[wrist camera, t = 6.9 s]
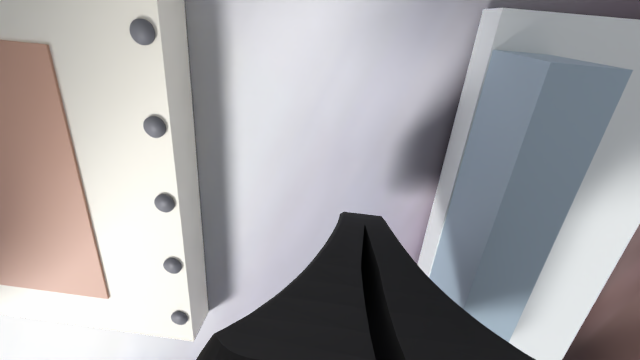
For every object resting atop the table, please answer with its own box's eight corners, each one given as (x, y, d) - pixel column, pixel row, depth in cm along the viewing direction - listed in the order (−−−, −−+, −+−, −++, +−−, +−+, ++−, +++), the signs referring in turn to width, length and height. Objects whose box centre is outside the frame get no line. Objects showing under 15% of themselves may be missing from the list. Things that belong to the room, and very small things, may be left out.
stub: (397, 340, 16) (412, 449, 12) (483, 9, 10) (569, 2, 6) (528, 358, 16) (588, 475, 12) (696, 27, 10) (935, 34, 6)
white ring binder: (-6, 283, 17) (-43, 310, 16) (-145, -46, 11) (-228, -57, 10) (208, 312, 17) (192, 343, 15) (182, -17, 11) (152, -24, 9)
